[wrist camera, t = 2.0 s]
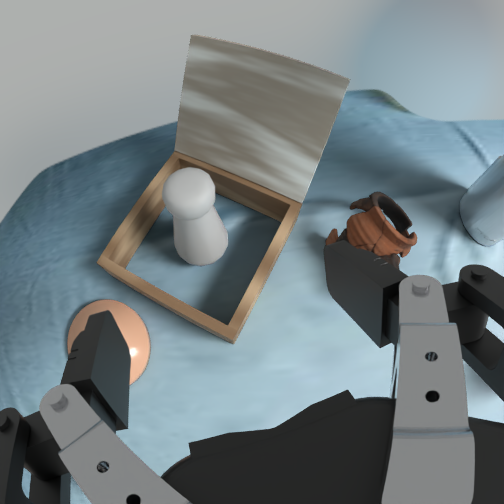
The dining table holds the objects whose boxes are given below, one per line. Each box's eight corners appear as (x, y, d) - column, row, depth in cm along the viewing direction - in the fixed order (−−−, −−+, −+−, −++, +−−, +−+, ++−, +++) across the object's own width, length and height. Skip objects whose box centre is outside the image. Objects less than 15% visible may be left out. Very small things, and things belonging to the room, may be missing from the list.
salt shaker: (171, 237, 36) (141, 171, 24) (215, 217, 37) (205, 145, 25) (190, 280, 34) (164, 229, 22) (237, 259, 35) (236, 197, 23)
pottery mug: (312, 220, 38) (355, 174, 32) (365, 238, 42) (406, 201, 36) (335, 309, 31) (394, 265, 25) (391, 317, 35) (443, 282, 29)
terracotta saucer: (97, 286, 34) (93, 283, 33) (166, 329, 32) (164, 328, 31) (58, 357, 30) (54, 356, 29) (125, 407, 29) (122, 407, 28)
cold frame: (206, 138, 42) (195, 32, 26) (314, 182, 40) (351, 76, 23) (111, 275, 34) (30, 200, 18) (233, 344, 32) (226, 315, 16)
